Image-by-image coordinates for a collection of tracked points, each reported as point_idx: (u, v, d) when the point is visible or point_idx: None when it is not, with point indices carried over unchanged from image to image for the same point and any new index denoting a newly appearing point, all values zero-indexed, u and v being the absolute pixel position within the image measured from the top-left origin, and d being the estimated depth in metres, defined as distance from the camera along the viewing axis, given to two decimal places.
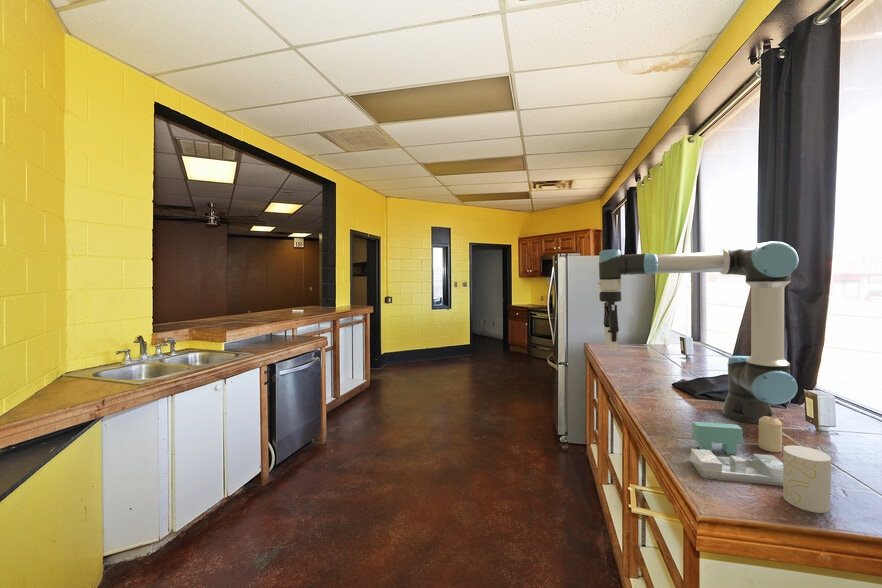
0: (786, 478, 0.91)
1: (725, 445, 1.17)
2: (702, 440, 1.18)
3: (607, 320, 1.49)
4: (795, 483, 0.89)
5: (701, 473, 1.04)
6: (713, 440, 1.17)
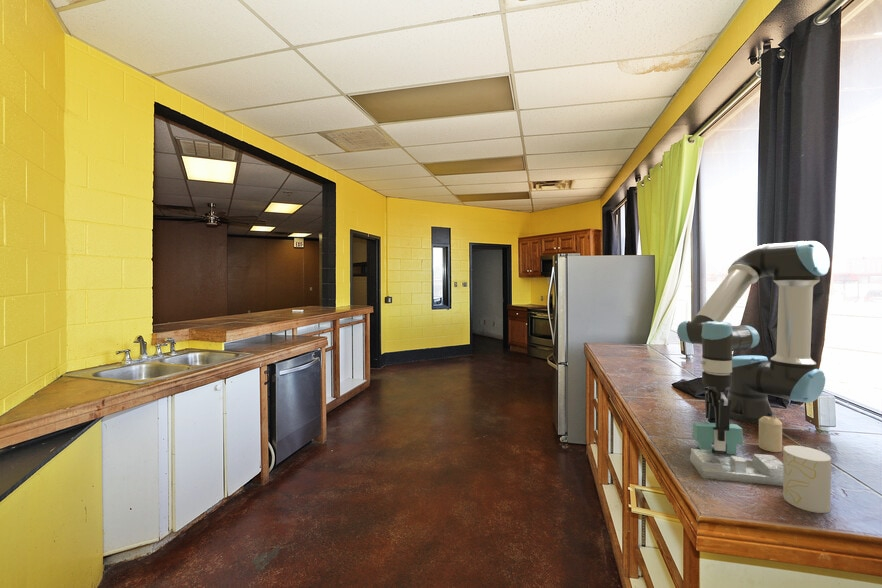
0: (786, 478, 0.92)
1: None
2: (702, 440, 1.18)
3: (712, 411, 1.20)
4: (795, 483, 0.89)
5: (701, 473, 1.04)
6: (713, 440, 1.17)
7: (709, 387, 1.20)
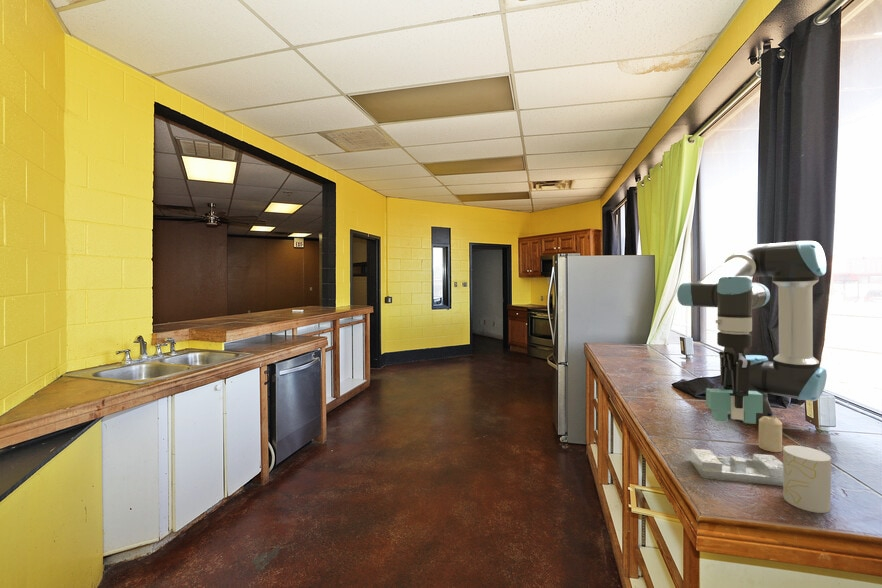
0: (786, 478, 0.92)
1: None
2: (717, 408, 1.05)
3: (729, 376, 1.07)
4: (795, 483, 0.89)
5: (701, 473, 1.04)
6: (729, 408, 1.04)
7: (725, 350, 1.08)
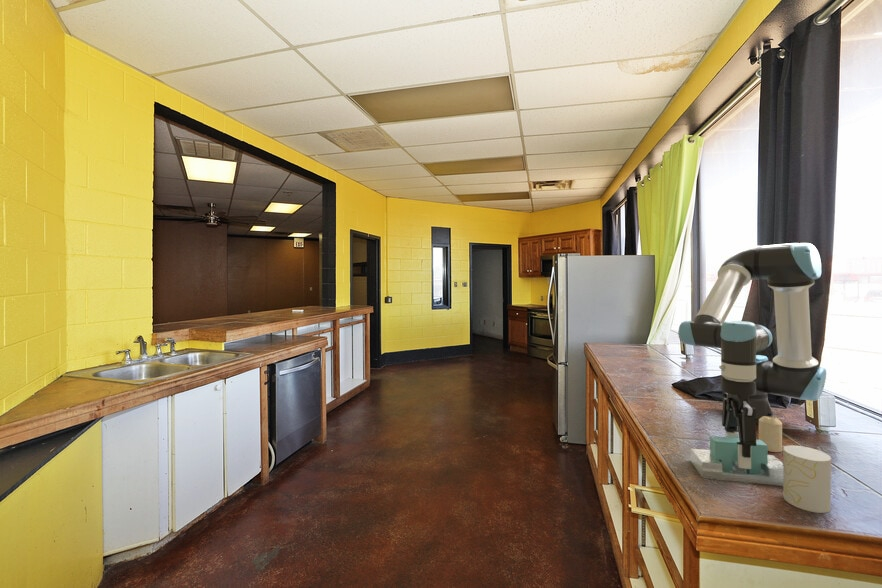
0: (786, 478, 0.92)
1: None
2: (721, 458, 1.04)
3: (731, 420, 1.07)
4: (795, 483, 0.89)
5: (701, 473, 1.04)
6: (734, 458, 1.03)
7: (729, 395, 1.07)
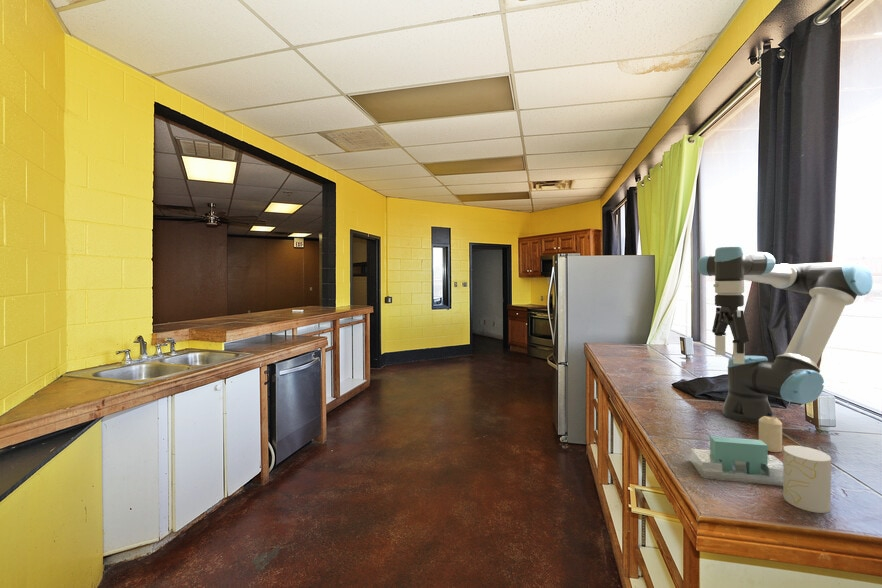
0: (786, 478, 0.92)
1: (747, 463, 1.04)
2: (721, 458, 1.04)
3: (720, 327, 1.29)
4: (795, 483, 0.89)
5: (701, 473, 1.04)
6: (734, 458, 1.03)
7: (721, 311, 1.27)
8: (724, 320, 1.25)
